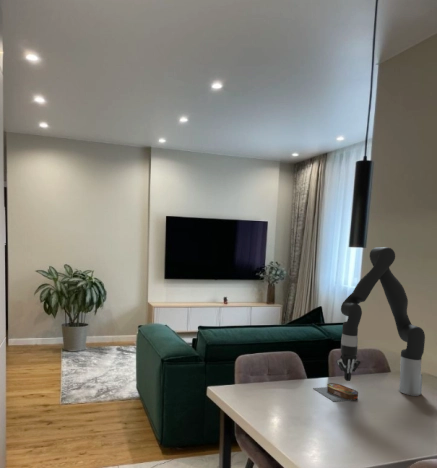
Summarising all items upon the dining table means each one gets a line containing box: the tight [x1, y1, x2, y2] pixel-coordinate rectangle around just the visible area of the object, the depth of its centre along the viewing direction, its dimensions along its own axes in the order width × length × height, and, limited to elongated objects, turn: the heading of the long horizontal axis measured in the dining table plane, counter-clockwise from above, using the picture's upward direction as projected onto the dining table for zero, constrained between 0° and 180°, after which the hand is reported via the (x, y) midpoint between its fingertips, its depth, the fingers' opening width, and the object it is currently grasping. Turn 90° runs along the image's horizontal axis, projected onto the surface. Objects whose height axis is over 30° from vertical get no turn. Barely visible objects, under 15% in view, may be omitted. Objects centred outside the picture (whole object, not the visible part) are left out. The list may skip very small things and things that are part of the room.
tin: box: [326, 382, 359, 401], centre depth 177 cm, size 15×3×8 cm
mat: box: [312, 386, 357, 403], centre depth 177 cm, size 12×16×1 cm
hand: (347, 380), depth 180 cm, fingers closed
